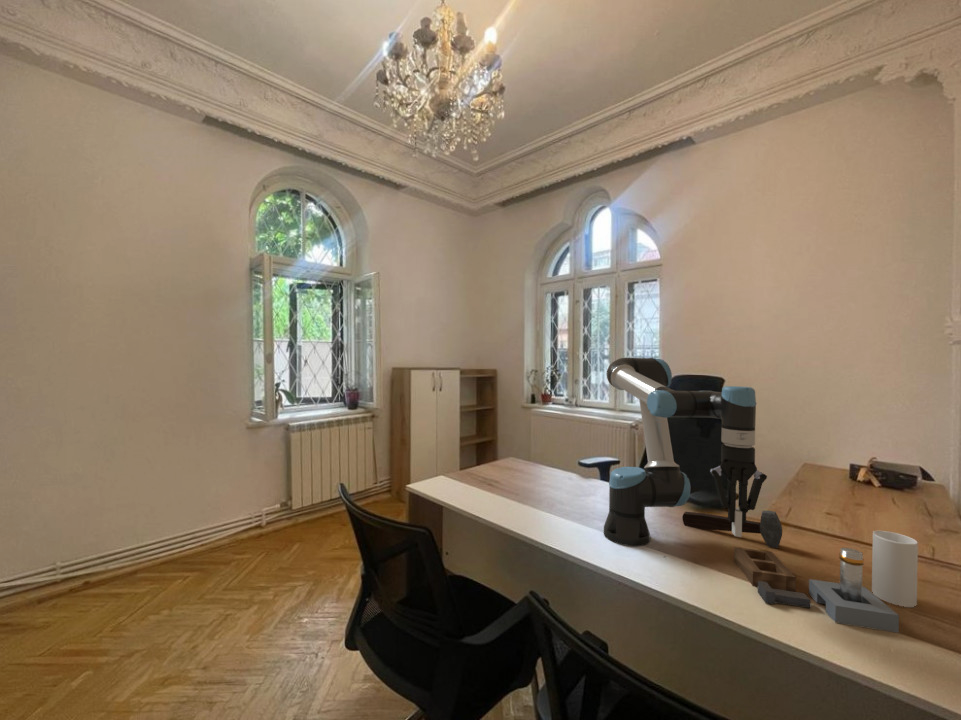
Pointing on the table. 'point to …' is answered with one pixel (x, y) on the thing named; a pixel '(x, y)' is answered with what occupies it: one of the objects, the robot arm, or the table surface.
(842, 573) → the rod
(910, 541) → the cup
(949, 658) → the table surface
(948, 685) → the table surface
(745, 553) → the rack
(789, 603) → the dark grey t-shaped block
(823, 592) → the socket block
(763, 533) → the hammer
